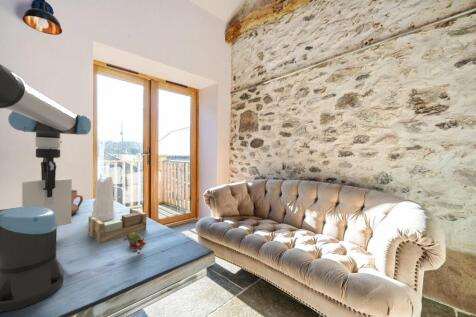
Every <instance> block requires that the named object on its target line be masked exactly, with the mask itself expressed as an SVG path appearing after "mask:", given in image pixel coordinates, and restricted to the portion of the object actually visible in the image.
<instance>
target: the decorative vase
mask: <svg viewBox="0 0 476 317" xmlns="http://www.w3.org/2000/svg"><path fill="white" fill-rule="evenodd" d="M113 182H114V181H113V177H112V176H108V177H106V178H103V179H101V178H98V180H96V182H95V198H94V201H93V203H92V205H93V206H92V212H91V216H93V217H95V218H97V219H98V220H100V221H102V222H107V221H110V220H114V218H115V216H116V213H115V212H116V211H115V207H114V205H115V204H114V199H115V198H114V195H113V194H114V185H113V184H114V183H113Z"/></svg>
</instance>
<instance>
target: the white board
mask: <svg viewBox="0 0 476 317" xmlns="http://www.w3.org/2000/svg"><path fill="white" fill-rule="evenodd" d="M72 183H73V181H72V178H60V179H59V178H57V179H56V178H55V188H54V201H53V204H52V205H44V190H43V188H45V180H28V181H21V208H24V207H42V208H47V209H50V210H52V211H53V212H55V214H56V220H57V227H60V226H61V227H62V226H65V225H70V224H72V215H71V194H72V190H73V189H72V188H73V187H72V186H73V185H72Z"/></svg>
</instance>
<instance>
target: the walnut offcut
mask: <svg viewBox="0 0 476 317" xmlns="http://www.w3.org/2000/svg"><path fill="white" fill-rule="evenodd" d="M121 219H122V228H125V227H129V226H133V225H137V224H140V214H139V213H137V212H136V213H131V214H130V213H128V214H122V215H121Z"/></svg>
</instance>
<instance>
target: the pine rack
mask: <svg viewBox="0 0 476 317" xmlns="http://www.w3.org/2000/svg"><path fill="white" fill-rule="evenodd" d="M136 212H137V213H139V214H140V224H137V225H133V226H129V227H125V228H121V229H118V230H114V231H110V232H106V233H105V222H104V221H100V220H98V219H97V218H95V217H93V216H92V215H91V216H88V225H87V226H88V227H87V228H88V230H87V231H88V232H87V234H88V235H89V236H90V237H91V238H93V239H94V240H95V241H97V242H98V243H99V244H103V243H106V242H110V241H113V240H116V239H119V238H123V237H127V236H126V234H130V233H132V232H137V233H139V232H143V231H146V230H147V213H146V212H144V211H141V210H138V209H136V208H133V207H131V208H129V214H131V213H136ZM119 220H121V221H122V218H120V219H119Z"/></svg>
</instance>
